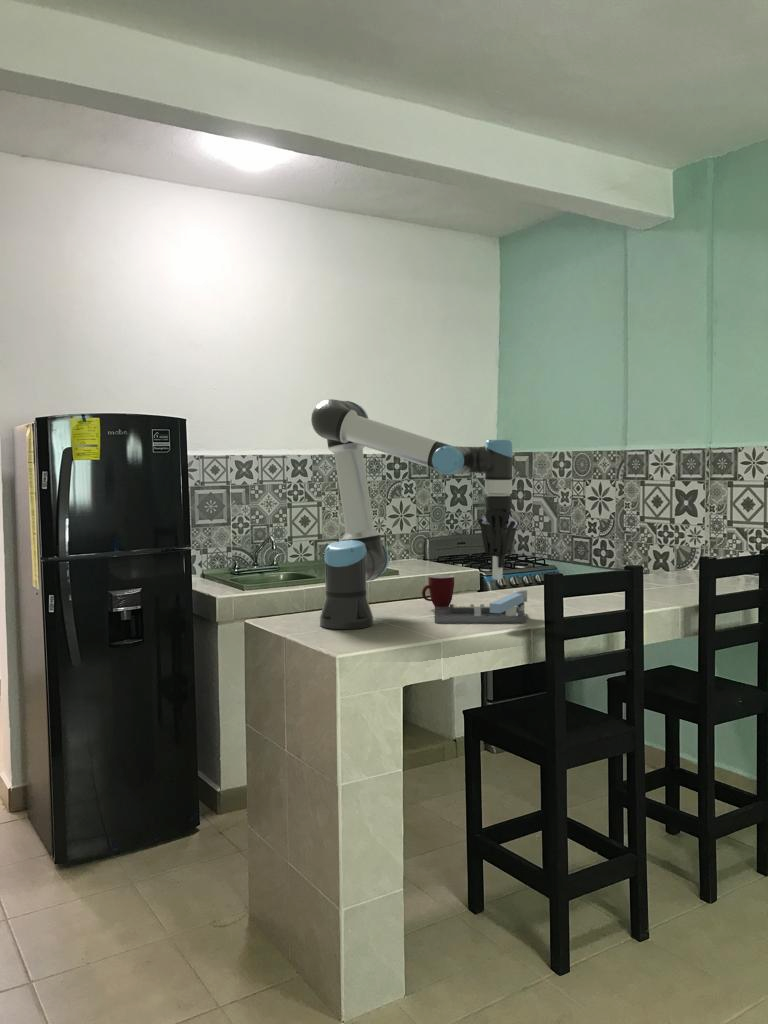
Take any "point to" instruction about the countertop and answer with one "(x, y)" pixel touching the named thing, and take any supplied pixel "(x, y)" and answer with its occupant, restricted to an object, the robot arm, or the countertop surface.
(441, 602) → the mug
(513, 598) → the bar
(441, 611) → the server tray
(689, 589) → the countertop surface
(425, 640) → the countertop surface
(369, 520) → the robot arm
